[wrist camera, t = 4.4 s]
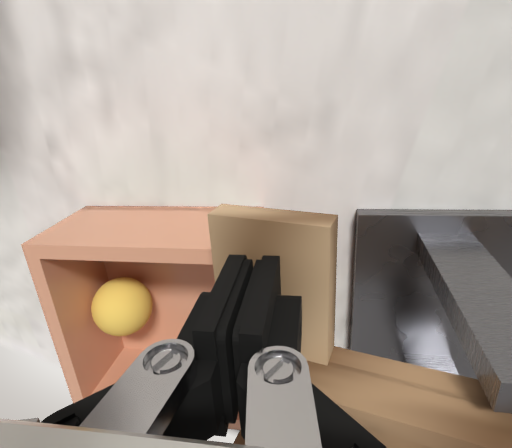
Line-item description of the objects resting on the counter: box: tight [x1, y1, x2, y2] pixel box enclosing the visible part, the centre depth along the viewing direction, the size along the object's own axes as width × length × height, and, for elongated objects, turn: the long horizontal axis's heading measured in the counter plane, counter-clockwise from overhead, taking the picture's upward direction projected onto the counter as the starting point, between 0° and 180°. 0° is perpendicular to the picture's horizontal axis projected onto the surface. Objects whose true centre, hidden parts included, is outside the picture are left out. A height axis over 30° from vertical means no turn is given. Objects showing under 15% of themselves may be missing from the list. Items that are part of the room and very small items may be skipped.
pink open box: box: [21, 206, 264, 430], centre depth 20 cm, size 10×10×5 cm
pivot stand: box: [350, 209, 512, 413], centre depth 15 cm, size 8×10×10 cm
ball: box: [91, 277, 153, 336], centre depth 21 cm, size 3×3×3 cm
